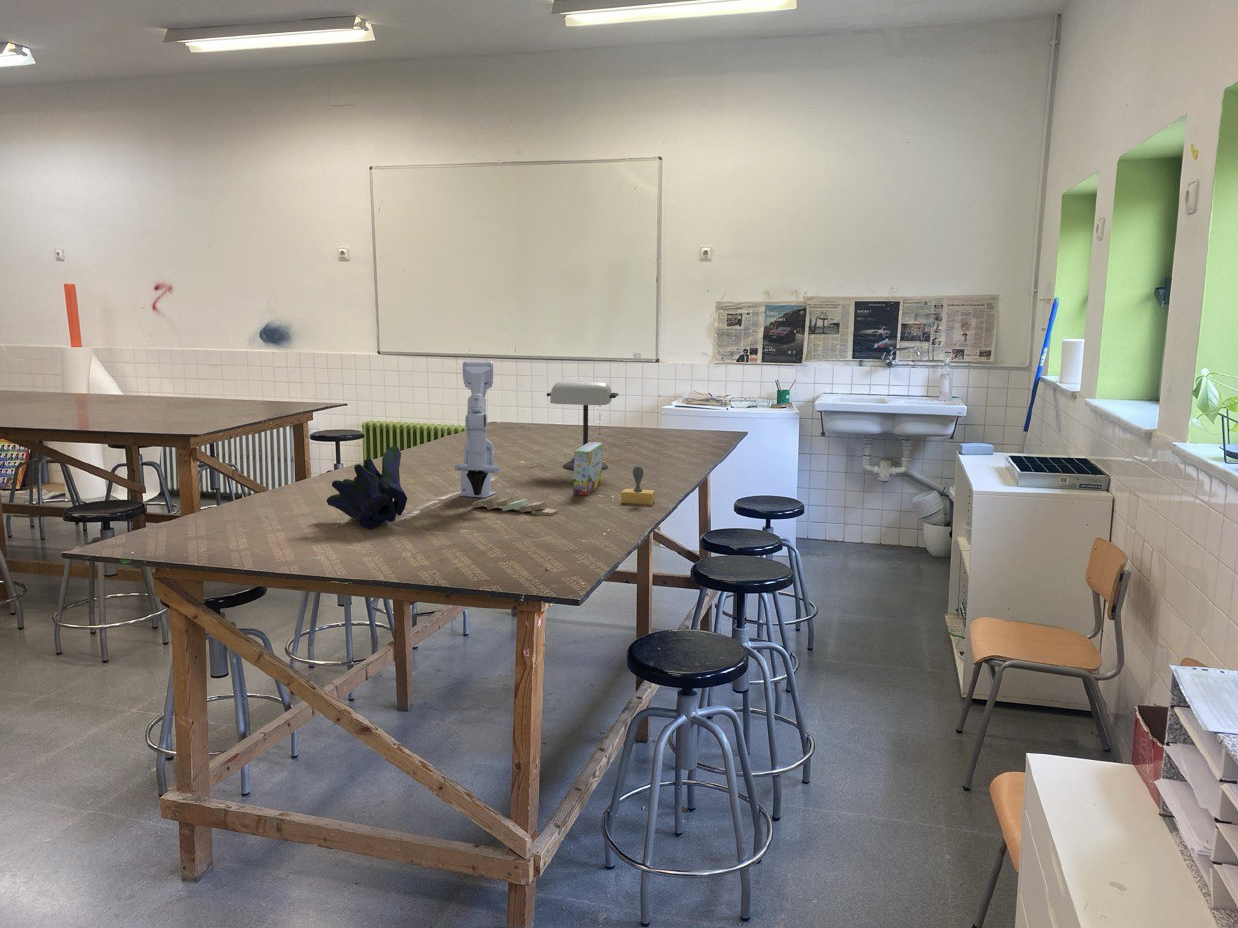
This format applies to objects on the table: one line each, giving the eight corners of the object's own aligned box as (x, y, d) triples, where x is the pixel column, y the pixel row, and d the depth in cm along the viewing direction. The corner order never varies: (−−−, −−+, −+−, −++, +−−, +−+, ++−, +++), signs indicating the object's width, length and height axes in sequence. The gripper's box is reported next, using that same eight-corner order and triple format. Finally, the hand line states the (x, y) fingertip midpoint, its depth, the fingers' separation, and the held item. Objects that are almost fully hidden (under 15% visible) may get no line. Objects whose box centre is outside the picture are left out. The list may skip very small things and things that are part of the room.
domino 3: (501, 506, 274) (521, 501, 271) (507, 503, 278) (527, 498, 276) (502, 511, 274) (522, 506, 272) (509, 508, 278) (528, 503, 276)
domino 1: (471, 503, 277) (491, 498, 275) (478, 500, 281) (497, 495, 279) (473, 508, 277) (492, 503, 275) (480, 505, 281) (499, 500, 279)
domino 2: (486, 504, 275) (505, 499, 273) (492, 501, 280) (512, 496, 277) (487, 509, 276) (507, 504, 273) (494, 506, 280) (513, 501, 277)
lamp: (542, 472, 336) (542, 382, 330) (557, 461, 360) (557, 377, 354) (612, 475, 332) (612, 384, 326) (622, 464, 356) (623, 379, 350)
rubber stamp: (620, 503, 287) (621, 466, 285) (624, 499, 292) (625, 463, 290) (651, 505, 285) (652, 468, 283) (654, 501, 290) (655, 465, 288)
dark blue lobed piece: (357, 561, 251) (332, 513, 275) (441, 519, 259) (410, 475, 282) (327, 505, 240) (304, 459, 263) (416, 462, 247) (385, 421, 270)
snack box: (589, 496, 297) (589, 451, 294) (572, 495, 298) (572, 450, 295) (602, 483, 317) (603, 441, 315) (587, 483, 319) (587, 441, 316)
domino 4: (519, 507, 272) (540, 504, 270) (524, 504, 276) (545, 501, 274) (520, 512, 272) (541, 509, 270) (525, 509, 277) (546, 506, 274)
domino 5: (531, 510, 271) (552, 512, 269) (536, 507, 275) (558, 509, 273) (531, 515, 271) (552, 517, 269) (536, 512, 275) (558, 514, 273)
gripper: (449, 452, 274) (450, 495, 277) (492, 455, 270) (493, 499, 272) (460, 448, 281) (461, 491, 283) (502, 451, 277) (503, 494, 279)
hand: (477, 494), depth 278 cm, fingers closed
